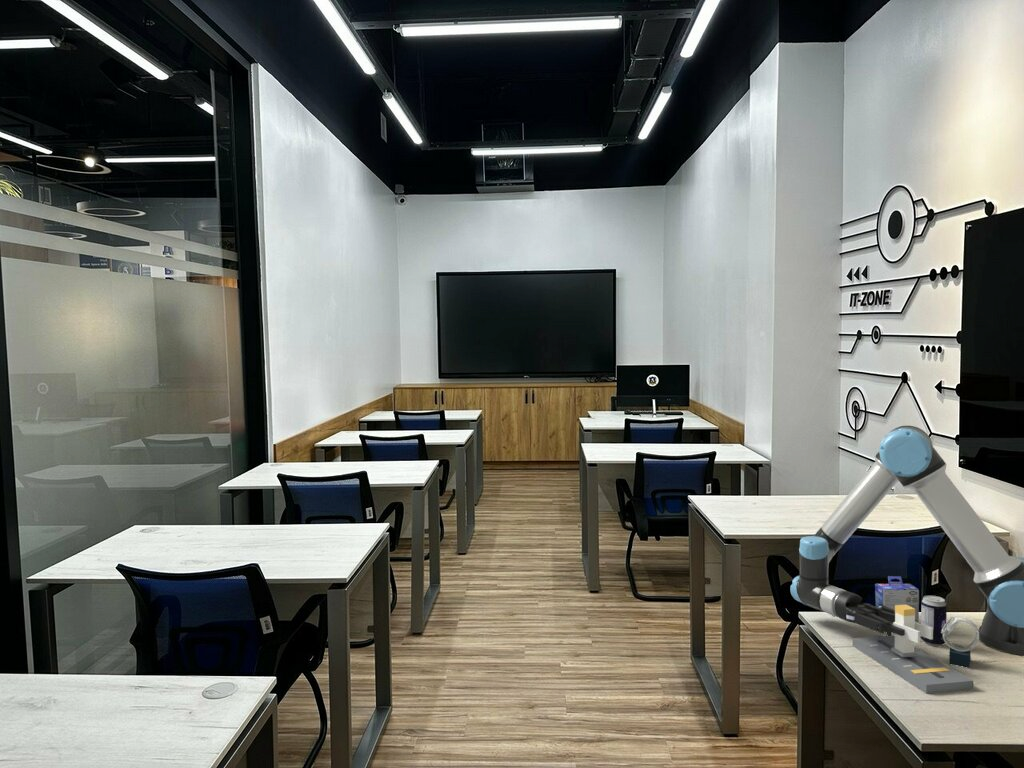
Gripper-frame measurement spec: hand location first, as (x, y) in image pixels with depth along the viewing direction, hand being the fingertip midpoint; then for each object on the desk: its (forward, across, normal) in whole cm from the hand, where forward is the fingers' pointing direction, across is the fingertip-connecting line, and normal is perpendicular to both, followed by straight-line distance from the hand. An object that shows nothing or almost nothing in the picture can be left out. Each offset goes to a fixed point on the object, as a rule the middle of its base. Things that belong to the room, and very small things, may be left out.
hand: (925, 635), depth 165 cm
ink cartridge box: (-21, -18, -9) cm, 29 cm away
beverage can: (-10, -18, -9) cm, 23 cm away
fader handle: (-5, 0, -6) cm, 8 cm away
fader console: (-4, 0, -9) cm, 10 cm away
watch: (0, -13, -9) cm, 16 cm away
